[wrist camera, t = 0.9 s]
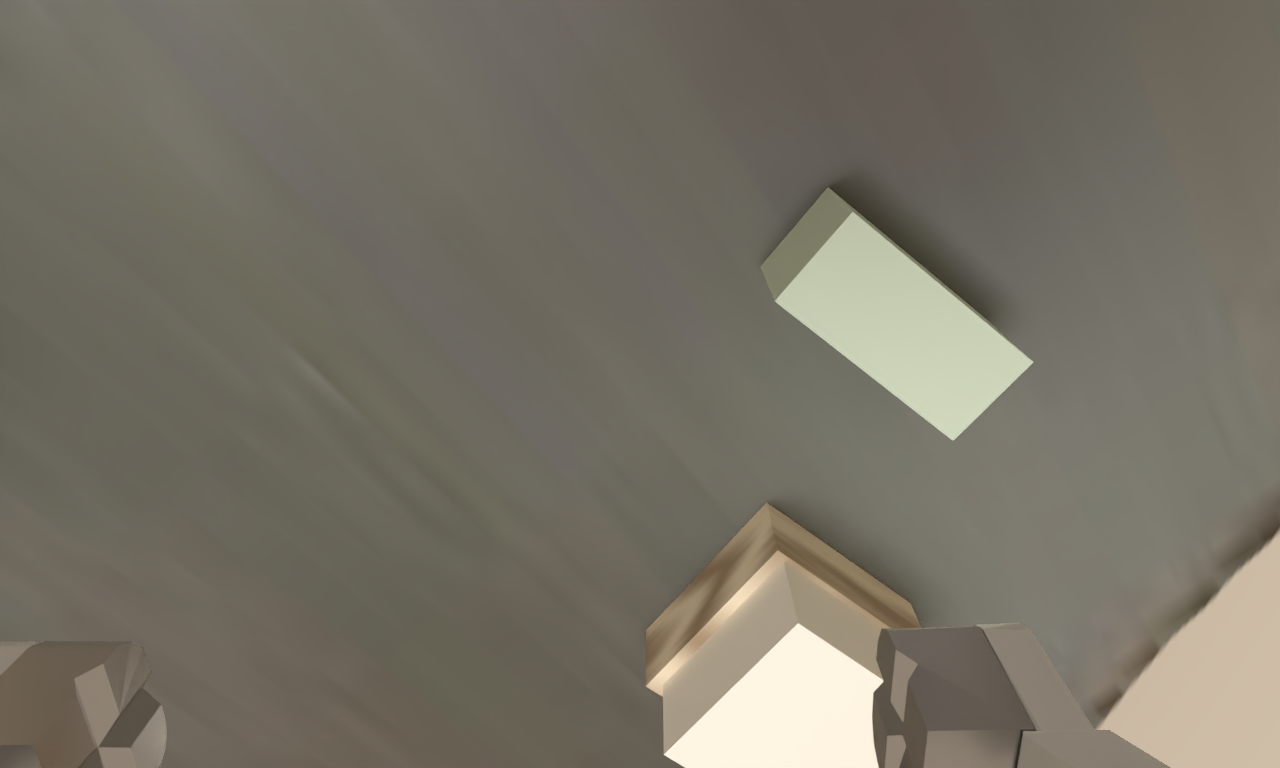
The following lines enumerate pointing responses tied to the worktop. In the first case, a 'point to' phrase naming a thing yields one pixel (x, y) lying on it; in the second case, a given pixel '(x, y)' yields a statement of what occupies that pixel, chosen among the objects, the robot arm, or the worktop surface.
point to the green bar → (891, 316)
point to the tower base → (744, 572)
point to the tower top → (778, 684)
